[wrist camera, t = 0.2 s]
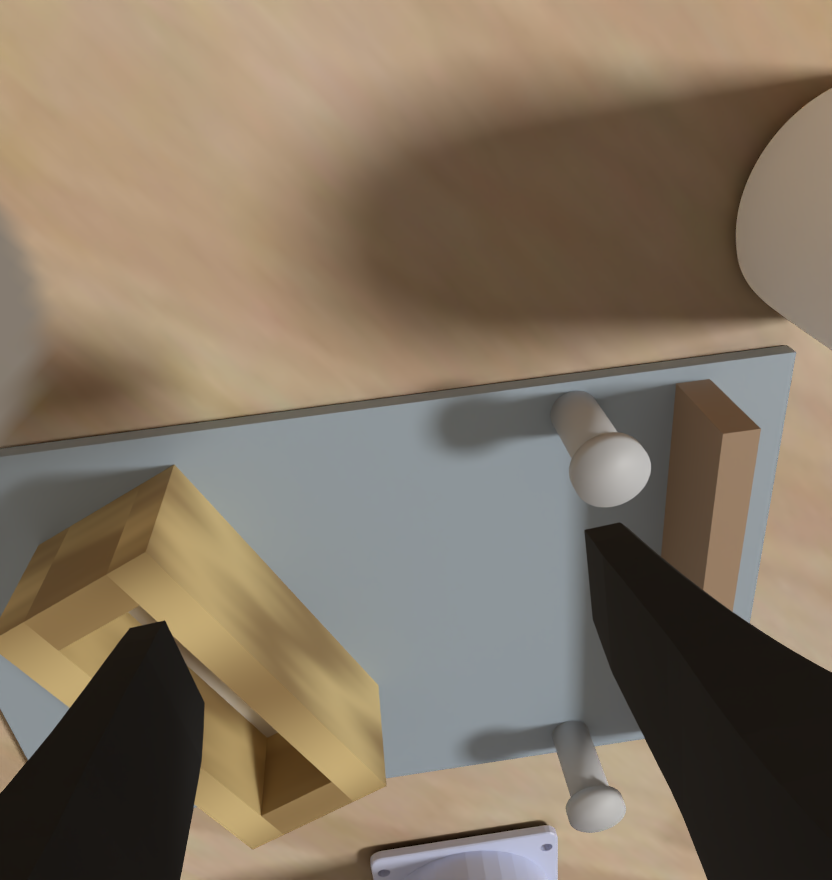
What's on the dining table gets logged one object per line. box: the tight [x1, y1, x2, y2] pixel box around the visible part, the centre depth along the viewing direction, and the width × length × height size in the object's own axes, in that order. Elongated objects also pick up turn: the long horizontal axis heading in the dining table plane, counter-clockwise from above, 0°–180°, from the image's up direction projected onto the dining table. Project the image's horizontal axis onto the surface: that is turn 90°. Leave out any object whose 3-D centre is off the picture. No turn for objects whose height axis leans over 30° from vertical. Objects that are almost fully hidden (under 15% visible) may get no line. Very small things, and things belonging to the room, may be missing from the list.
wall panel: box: [0, 345, 796, 833], centre depth 24 cm, size 16×26×4 cm, turn 95°
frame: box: [0, 464, 386, 849], centre depth 23 cm, size 11×5×4 cm, turn 30°
